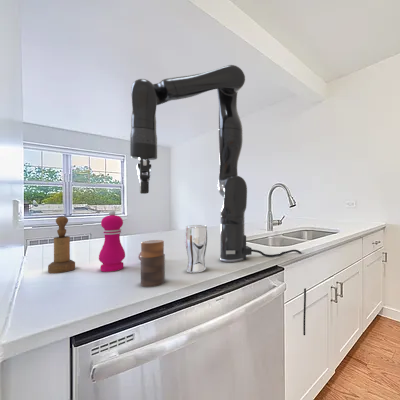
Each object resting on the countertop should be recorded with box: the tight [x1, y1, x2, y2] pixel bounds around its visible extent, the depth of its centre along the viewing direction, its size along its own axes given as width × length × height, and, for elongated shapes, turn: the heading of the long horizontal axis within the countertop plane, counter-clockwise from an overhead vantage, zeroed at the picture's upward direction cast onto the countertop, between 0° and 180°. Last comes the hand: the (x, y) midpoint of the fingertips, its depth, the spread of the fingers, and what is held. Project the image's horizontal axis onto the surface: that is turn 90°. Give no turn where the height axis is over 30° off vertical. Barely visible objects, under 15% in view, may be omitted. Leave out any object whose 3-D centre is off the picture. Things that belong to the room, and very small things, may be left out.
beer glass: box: [184, 224, 208, 274], centre depth 85 cm, size 7×7×15 cm
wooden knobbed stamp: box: [47, 215, 76, 274], centre depth 84 cm, size 7×6×18 cm
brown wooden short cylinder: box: [140, 239, 165, 258], centre depth 72 cm, size 6×6×4 cm
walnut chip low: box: [140, 268, 166, 288], centre depth 73 cm, size 6×6×4 cm
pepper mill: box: [98, 210, 126, 273], centre depth 86 cm, size 7×7×20 cm
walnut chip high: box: [140, 253, 166, 273], centre depth 73 cm, size 6×6×4 cm
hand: (144, 193), depth 83 cm, fingers open, 8 cm apart
